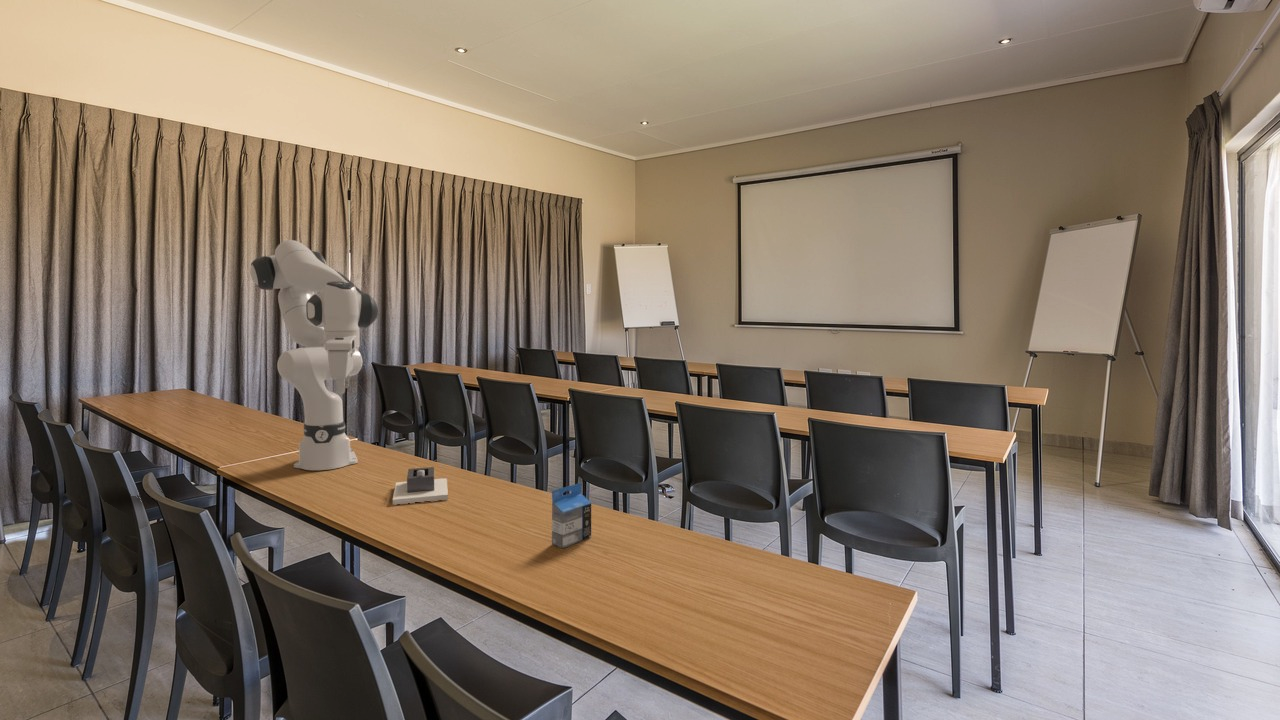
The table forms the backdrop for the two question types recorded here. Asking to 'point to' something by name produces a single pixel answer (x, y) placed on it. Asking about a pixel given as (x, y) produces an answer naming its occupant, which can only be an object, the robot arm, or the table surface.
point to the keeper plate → (405, 498)
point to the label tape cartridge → (570, 516)
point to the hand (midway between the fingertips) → (343, 390)
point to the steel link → (420, 480)
